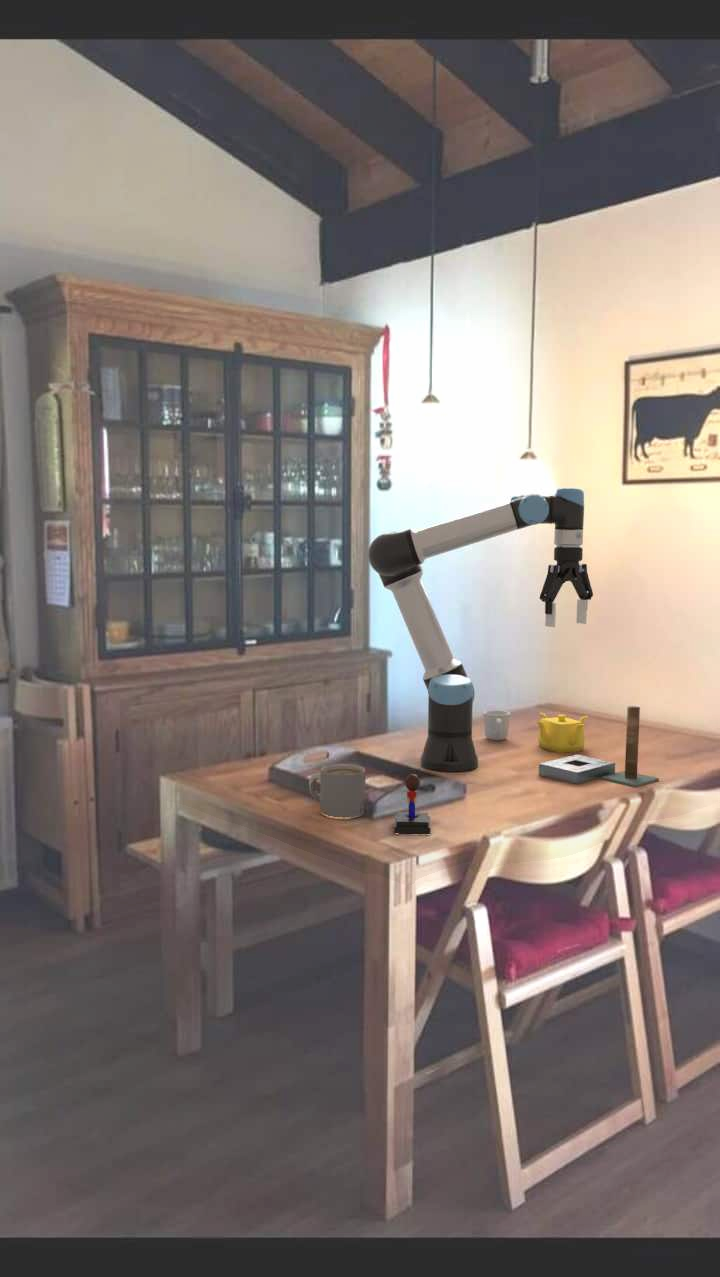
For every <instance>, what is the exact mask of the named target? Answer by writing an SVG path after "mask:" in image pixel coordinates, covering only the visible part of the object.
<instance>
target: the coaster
mask: <svg viewBox="0 0 720 1277" xmlns="http://www.w3.org/2000/svg"><path fill="white" fill-rule="evenodd" d="M601 779H602V781H603V780H605V781H609V782H611V783H612V782H613V783H617V784H621V785H626V786H630V787H634V788H637V787H641V786H644V785H647V784H651V783H655V782H659V780H660V778H658V777H655V776H650V775H646V774H641V773H638V772H637V779H627V778H625V770H623V771H619V772H615V774H611V775H607V776H603V777H602V778H601Z"/></svg>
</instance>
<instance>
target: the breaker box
mask: <svg viewBox="0 0 720 1277" xmlns="http://www.w3.org/2000/svg"><path fill="white" fill-rule="evenodd" d="M615 773H616V762H614V761H609V760H604V759H601V758H600V759H599V758H595V757H590V756H585V755H581V754H574V755H570V756H565V757H561V758H557V759H552V760H549V761H548V760H547V761H545V762H540V763H538V775H539V776H542V777H544V778H549V779H553V780H559V781H562V782H566V783H570V784H575V785H579V784H583V783H587V782H590V781H594V780H598V779H602V777H603V776H607V775H611V774H615Z"/></svg>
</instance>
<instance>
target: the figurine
mask: <svg viewBox="0 0 720 1277" xmlns="http://www.w3.org/2000/svg"><path fill="white" fill-rule="evenodd" d="M404 784H405V787H406V789H407V791H406V803H407V804H408V811H407V812H403V811H402V812H400V811H397V812H396V815H394V827H393V828H394V833H399V834H430V835H431V818H430V816H429V812H416V804H417V799H418V798H417V790H418V789H419V788H420V787H421V786H420V785H421V779H420V777H419V776H418V775H417V774H414V773H410V774H408V775H407V776H406V778H405V780H404Z"/></svg>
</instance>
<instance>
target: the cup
mask: <svg viewBox="0 0 720 1277" xmlns="http://www.w3.org/2000/svg"><path fill="white" fill-rule="evenodd" d="M510 720H511V712H510V711H507V710H500V709H492V710H485V711H483V724H484V725H483V727H484V734H485V735H484V736H485V738H486V739H487V740H491V741H503V740H507V738H508V736H509V729H510Z"/></svg>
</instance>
